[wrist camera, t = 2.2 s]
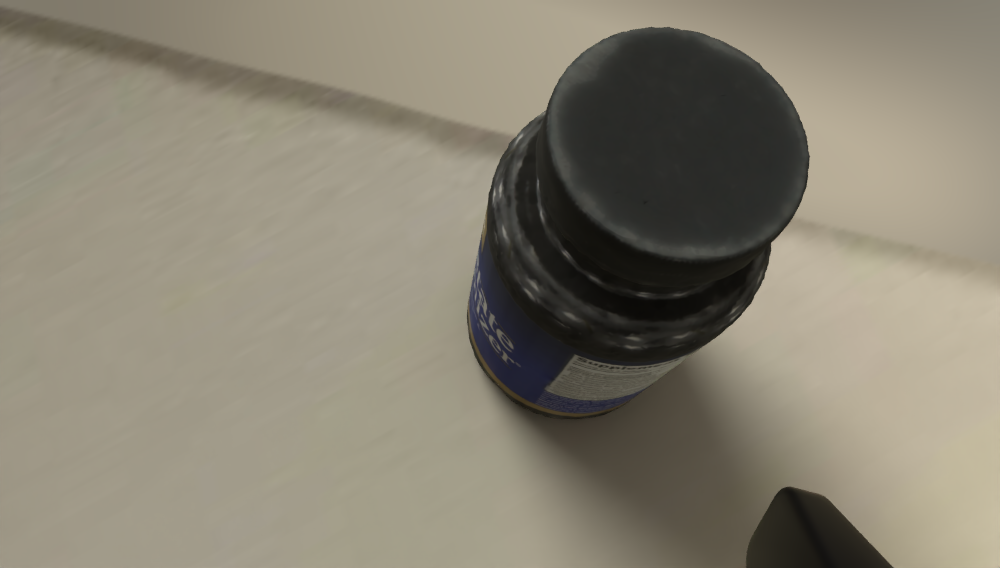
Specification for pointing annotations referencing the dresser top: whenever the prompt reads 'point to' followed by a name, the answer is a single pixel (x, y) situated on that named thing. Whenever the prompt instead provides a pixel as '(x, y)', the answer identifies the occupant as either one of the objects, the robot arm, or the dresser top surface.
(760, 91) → the pill bottle
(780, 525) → the robot arm
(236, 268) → the dresser top surface
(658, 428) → the dresser top surface
